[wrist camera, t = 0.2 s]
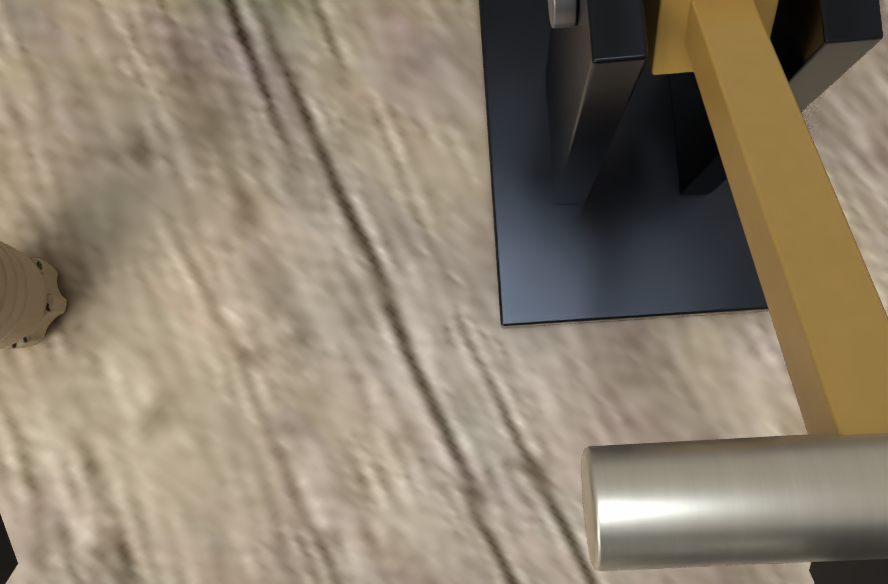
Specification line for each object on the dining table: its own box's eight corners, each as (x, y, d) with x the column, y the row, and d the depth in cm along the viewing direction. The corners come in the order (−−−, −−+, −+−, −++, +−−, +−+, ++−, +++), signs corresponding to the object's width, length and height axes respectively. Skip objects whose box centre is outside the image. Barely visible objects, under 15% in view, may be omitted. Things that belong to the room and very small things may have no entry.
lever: (1183, 579, 10) (1327, 488, 8) (591, 603, 11) (598, 524, 9) (846, -22, 18) (879, -135, 17) (521, 7, 19) (518, -99, 17)
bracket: (776, 310, 28) (1035, 247, 14) (501, 328, 28) (493, 285, 15) (741, -40, 29) (947, -410, 15) (478, -15, 30) (450, -349, 16)
